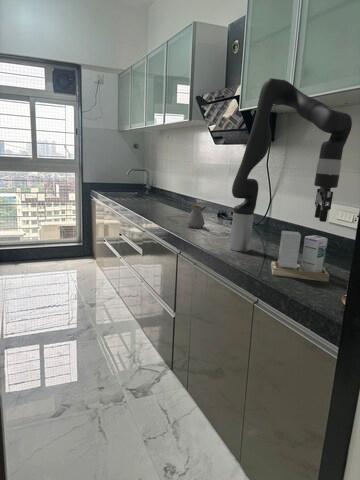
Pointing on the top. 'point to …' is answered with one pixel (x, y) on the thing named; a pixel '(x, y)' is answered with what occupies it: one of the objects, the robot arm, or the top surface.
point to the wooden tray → (299, 273)
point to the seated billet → (289, 250)
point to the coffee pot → (196, 217)
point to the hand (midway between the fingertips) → (320, 219)
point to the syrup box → (314, 253)
